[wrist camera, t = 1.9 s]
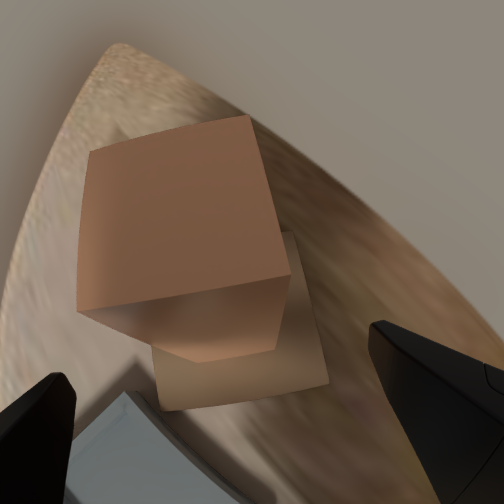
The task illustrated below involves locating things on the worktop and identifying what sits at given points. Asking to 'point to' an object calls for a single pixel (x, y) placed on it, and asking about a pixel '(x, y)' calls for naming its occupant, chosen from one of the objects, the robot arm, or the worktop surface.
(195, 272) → the tan rectangular prism
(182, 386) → the peg on square base
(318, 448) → the worktop surface
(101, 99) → the worktop surface
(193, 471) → the tray
